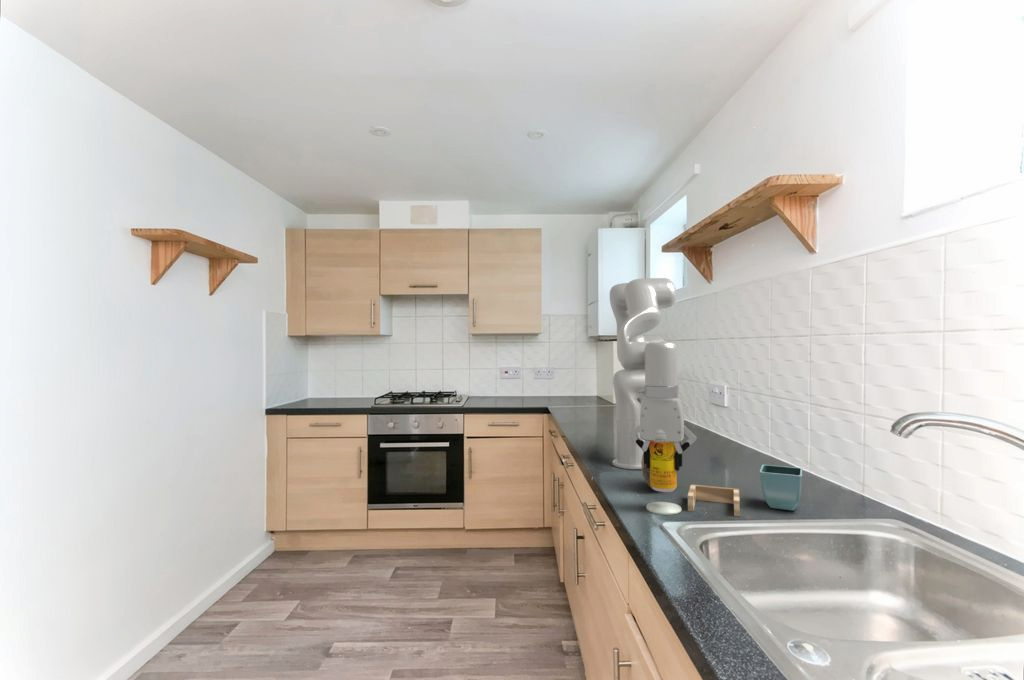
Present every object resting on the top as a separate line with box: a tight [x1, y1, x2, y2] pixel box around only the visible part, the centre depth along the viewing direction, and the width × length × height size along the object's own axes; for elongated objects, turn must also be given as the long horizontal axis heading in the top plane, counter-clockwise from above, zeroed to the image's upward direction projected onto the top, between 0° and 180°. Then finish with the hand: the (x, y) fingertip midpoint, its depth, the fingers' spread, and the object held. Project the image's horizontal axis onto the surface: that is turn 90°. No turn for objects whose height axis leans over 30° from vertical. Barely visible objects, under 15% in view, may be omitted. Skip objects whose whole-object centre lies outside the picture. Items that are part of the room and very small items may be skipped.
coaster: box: [646, 501, 682, 516], centre depth 119 cm, size 8×8×1 cm
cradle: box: [687, 484, 741, 517], centre depth 120 cm, size 11×11×4 cm
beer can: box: [649, 430, 678, 493], centre depth 119 cm, size 6×6×15 cm
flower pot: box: [759, 464, 803, 511], centre depth 120 cm, size 9×9×9 cm
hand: (663, 467), depth 119 cm, fingers closed on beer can, 6 cm apart
